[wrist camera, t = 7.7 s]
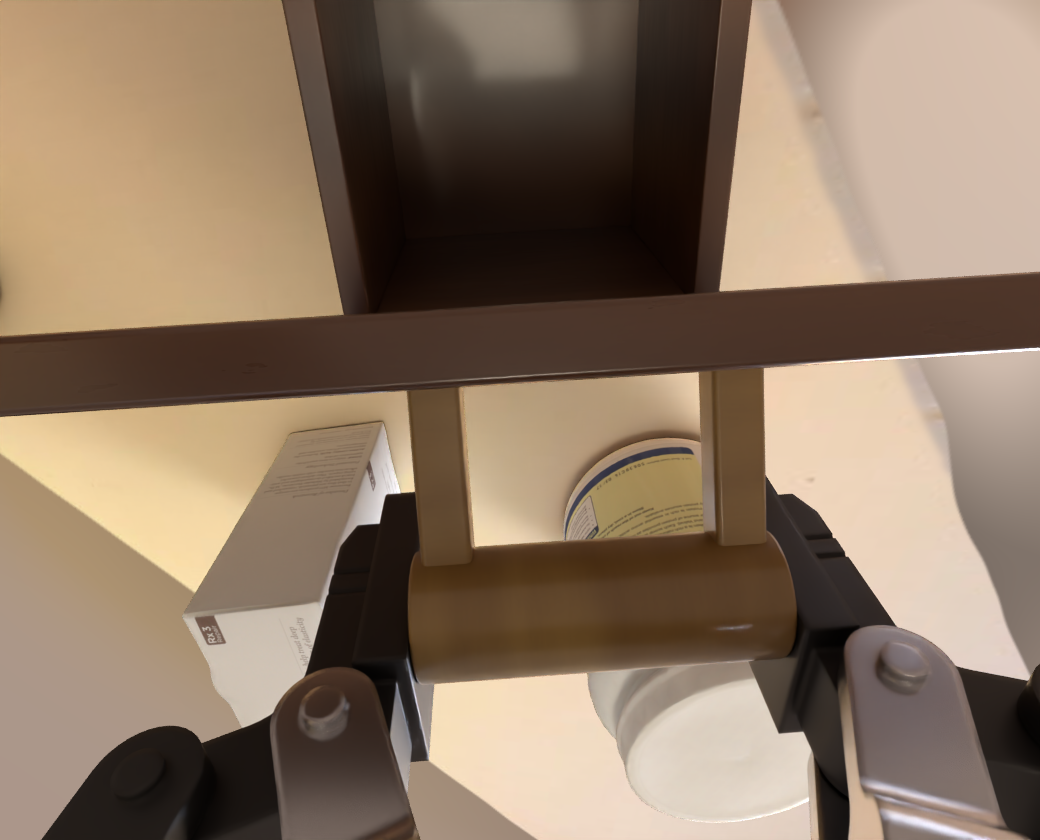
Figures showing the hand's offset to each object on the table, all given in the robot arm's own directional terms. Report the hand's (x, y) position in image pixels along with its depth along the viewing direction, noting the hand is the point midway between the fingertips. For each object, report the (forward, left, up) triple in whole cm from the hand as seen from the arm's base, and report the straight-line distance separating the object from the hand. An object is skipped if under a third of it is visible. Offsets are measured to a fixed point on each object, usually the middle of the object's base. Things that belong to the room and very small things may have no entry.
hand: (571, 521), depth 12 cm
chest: (-6, 0, -24) cm, 24 cm away
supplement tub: (+19, +8, -24) cm, 31 cm away
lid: (-2, 0, -4) cm, 5 cm away
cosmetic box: (+15, -11, -24) cm, 30 cm away
